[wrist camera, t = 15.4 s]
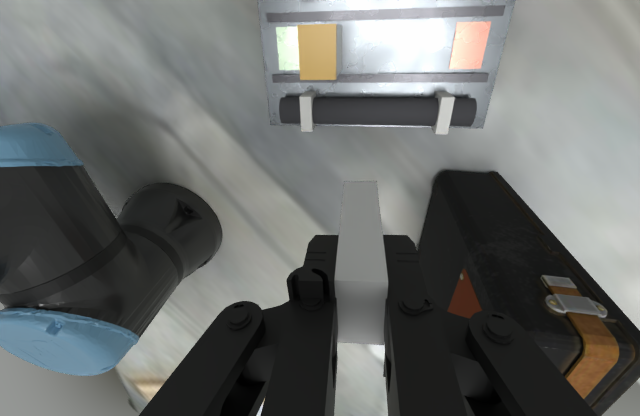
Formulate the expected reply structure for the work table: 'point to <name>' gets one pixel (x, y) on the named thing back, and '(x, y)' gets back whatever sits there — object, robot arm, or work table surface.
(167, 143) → the work table surface
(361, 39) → the panel
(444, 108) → the pair of dark rods
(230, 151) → the work table surface
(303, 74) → the yellow and grey block
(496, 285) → the voltmeter
